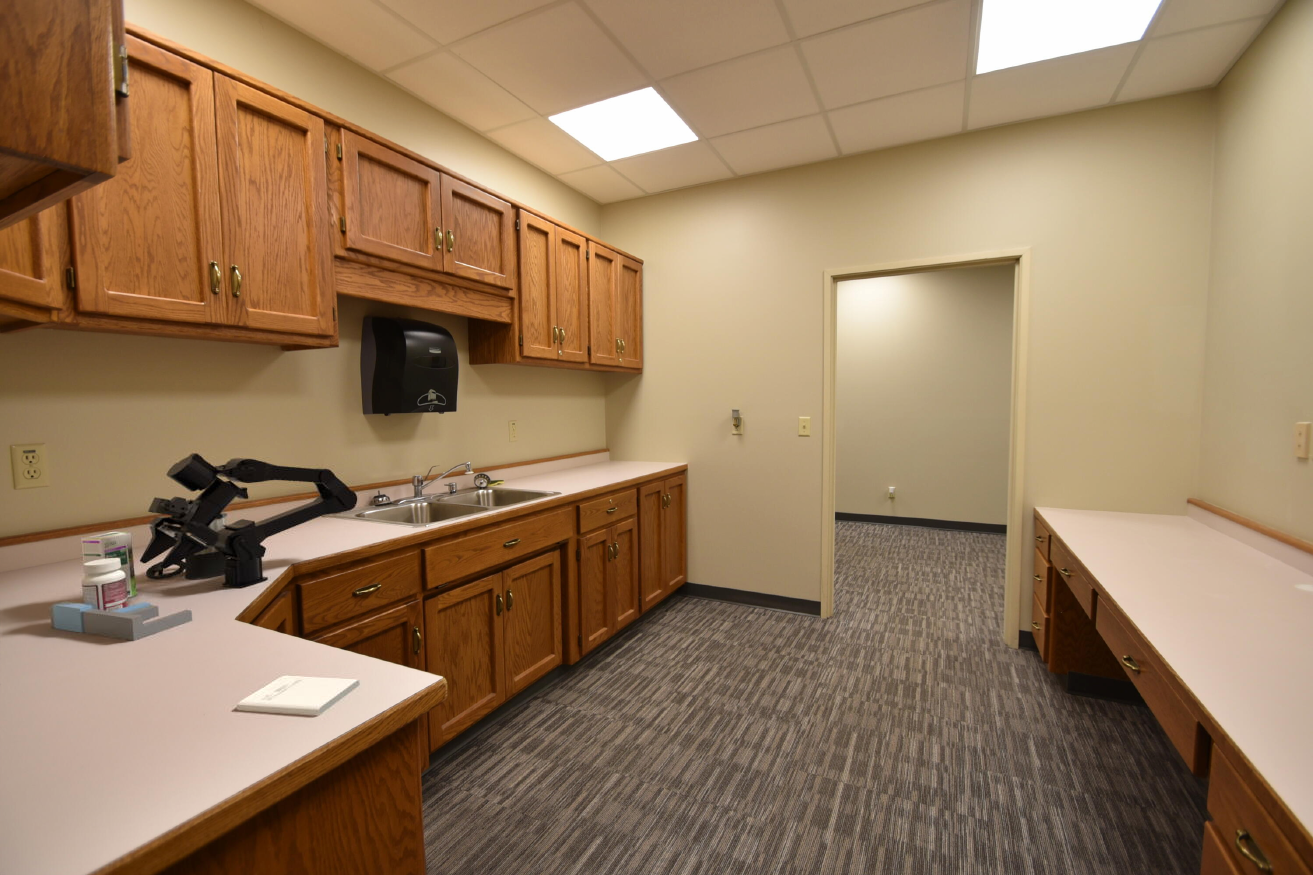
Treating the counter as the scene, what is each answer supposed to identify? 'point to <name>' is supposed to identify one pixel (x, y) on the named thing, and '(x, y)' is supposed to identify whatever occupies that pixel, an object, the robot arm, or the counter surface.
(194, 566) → the milk frother
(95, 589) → the pill bottle
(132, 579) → the syrup box
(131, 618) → the divider rack
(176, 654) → the counter surface
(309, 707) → the external hard drive
